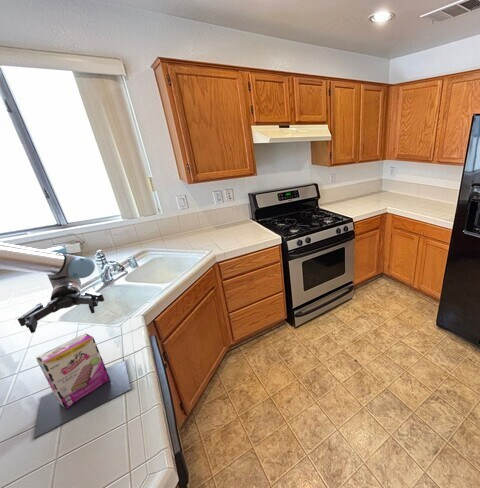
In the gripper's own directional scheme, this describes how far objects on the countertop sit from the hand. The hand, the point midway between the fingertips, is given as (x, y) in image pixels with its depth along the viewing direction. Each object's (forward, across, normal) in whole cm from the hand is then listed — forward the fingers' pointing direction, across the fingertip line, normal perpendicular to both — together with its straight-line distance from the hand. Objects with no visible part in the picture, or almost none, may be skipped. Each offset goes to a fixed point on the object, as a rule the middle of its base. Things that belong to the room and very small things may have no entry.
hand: (63, 318), depth 80 cm
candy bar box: (+12, 0, -20) cm, 23 cm away
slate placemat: (+14, 0, -20) cm, 24 cm away
